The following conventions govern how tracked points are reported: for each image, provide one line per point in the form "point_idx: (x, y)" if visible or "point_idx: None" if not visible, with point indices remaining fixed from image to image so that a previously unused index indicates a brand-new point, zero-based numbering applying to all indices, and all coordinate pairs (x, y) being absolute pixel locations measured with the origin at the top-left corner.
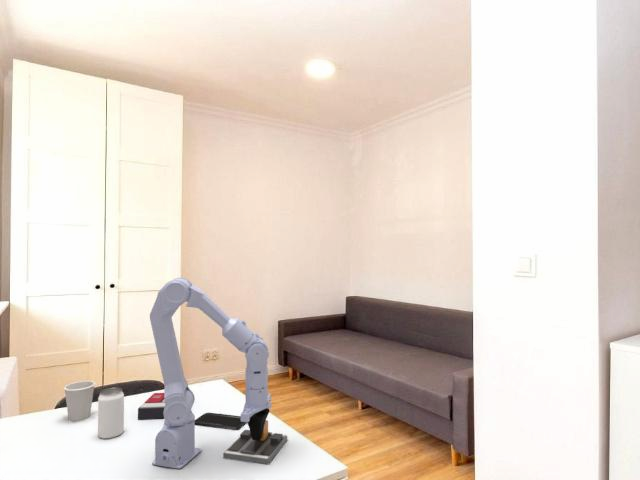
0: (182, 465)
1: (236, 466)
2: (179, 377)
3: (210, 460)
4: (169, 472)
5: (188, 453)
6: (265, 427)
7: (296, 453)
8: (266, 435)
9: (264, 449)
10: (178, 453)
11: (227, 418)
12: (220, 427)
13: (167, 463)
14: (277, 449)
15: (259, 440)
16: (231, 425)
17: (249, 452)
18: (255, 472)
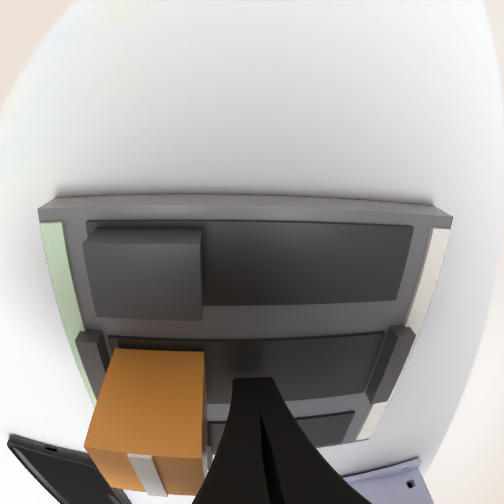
0: (414, 463)
1: (434, 350)
2: None
3: (375, 440)
4: (426, 460)
5: (378, 489)
6: (156, 421)
7: (251, 39)
8: (144, 361)
9: (334, 297)
10: (423, 494)
11: (60, 486)
12: (122, 493)
13: (407, 483)
14: (281, 203)
15: (270, 377)
16: (93, 478)
17: (405, 357)
18: (489, 248)
